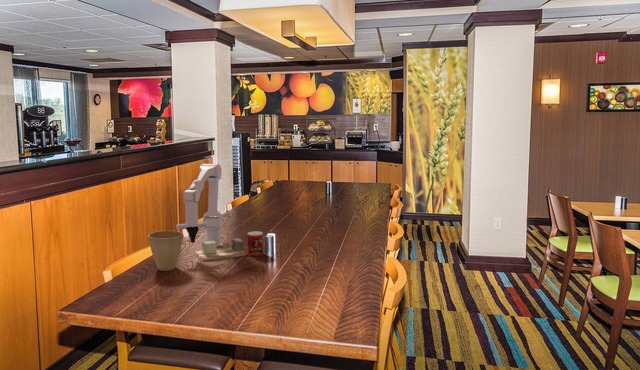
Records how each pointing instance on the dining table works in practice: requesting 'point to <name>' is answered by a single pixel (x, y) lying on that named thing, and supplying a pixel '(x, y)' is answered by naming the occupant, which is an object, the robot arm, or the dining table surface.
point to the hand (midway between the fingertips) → (192, 242)
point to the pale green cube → (209, 247)
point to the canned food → (255, 243)
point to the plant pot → (166, 248)
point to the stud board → (224, 251)
